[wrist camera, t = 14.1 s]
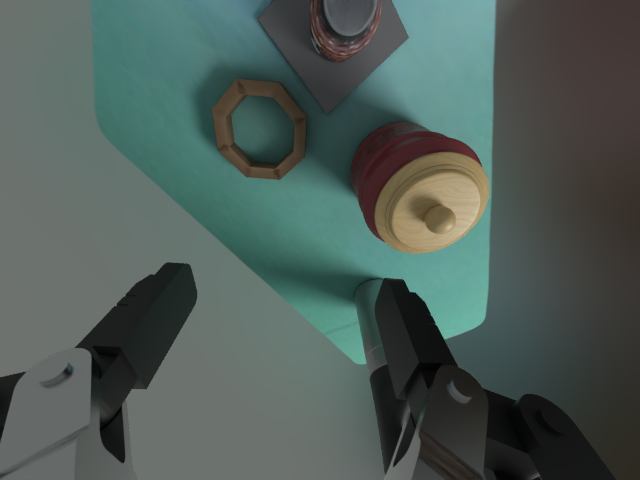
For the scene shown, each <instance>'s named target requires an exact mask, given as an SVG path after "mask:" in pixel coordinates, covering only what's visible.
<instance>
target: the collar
mask: <svg viewBox="0 0 640 480" xmlns="http://www.w3.org/2000/svg"><path fill="white" fill-rule="evenodd" d="M247 95H254V96H264V97H274V98H275V100H276V101H277V102H278V103H279V105H280V106H281V107H282V108H283V110H284V111H285V112H286V113H287V114H288V116H289V117H290V118H291V119H292V121H293V122H294V149H293V150H292V151H291V152H290V153H289V154H288V155H287V156H285V157H284V158H283V159H282V160H281V161H280V162H279V163H278V164H274V163H261V162H253V161H252V160H251V159H250V158H249V157H248V156H247V155H246V154H245V153H244V152H243V151H242V150H241V149H240V148H239V147H238V146H237V145H236V144H235V143H234V136H233V128H232V119H231V113H232V112H233V111H234V110H235V109H236V108H237V106H238V105H239V104H240V103H241V102H242V101H243V99H244V98H245V97H246V96H247ZM212 115H213V122H214V128H215V134H216V141H217V147H218V151H219V152H220V153H221V154H222V155H223V156H224V157H226V158H227V159H228V160H229V161H230V162H231V163H232V164H233V165H234V166H235V167H236V168H237V169H238V170H239V171H240V172H241V173H242V174H243V175H245V176H246V177H252V178H265V179H278V180H280V179H281V178H282V177H283V176H285V175H286V174H287V173H288V172H289V171H290V170H291V169H292V168H293V167H294V166H296V165H297V164H298V163H299V162H300V161H301V160H302V159H303V158H304V157H305V145H306V123H307V116H306V114H305V113H304V112H303V110H302V109H301V108H300V106H299V105H298V104H297V103H296V101H295V100H294V99H293V97H292V96H291V95H290V94H289V92H288V91H287V90H286V88H285V87H284V86H283V85H282V83H277V82H268V81H258V80H248V79H236V80H235V81H234V82H233V84H232V85H231V86H230V87H229V89H228V90H227V91H226V92H225V93H224V95H223V96H222V97H221V98H220V100H219V101H218V102H217V103H216V105H215V106H214V107H213V108H212Z"/></svg>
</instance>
